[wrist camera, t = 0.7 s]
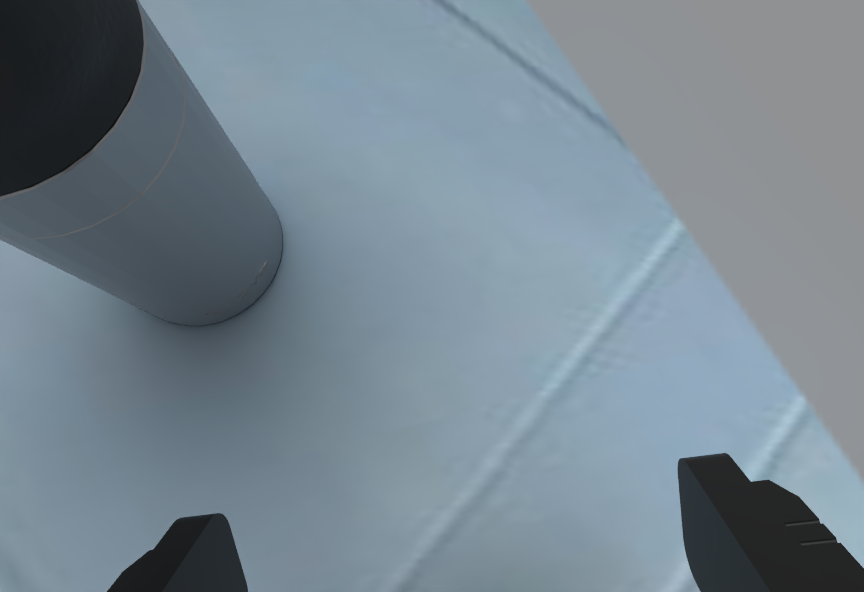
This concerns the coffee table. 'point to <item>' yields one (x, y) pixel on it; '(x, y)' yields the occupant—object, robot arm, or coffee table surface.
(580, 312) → the coffee table surface
